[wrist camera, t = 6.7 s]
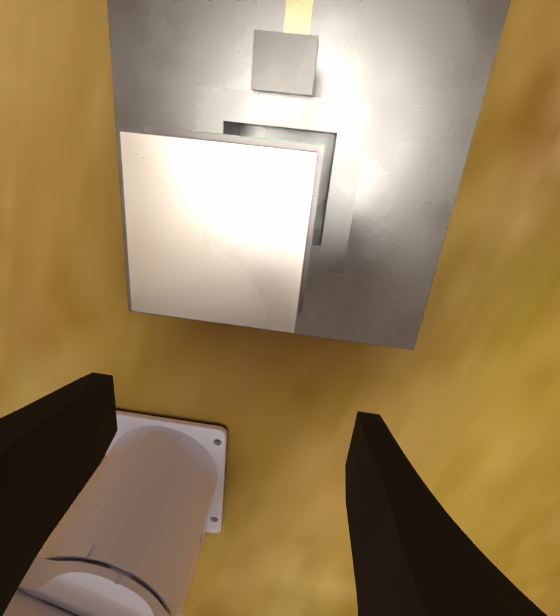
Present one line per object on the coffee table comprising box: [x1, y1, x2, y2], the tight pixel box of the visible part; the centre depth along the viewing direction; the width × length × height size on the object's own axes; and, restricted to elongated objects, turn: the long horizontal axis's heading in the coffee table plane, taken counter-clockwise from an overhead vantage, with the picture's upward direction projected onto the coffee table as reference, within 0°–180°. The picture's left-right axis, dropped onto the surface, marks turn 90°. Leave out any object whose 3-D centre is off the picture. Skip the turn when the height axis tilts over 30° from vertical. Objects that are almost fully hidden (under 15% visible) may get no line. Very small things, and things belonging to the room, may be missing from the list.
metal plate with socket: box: [107, 0, 510, 350], centre depth 16 cm, size 15×15×5 cm
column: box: [120, 126, 325, 333], centre depth 9 cm, size 3×3×6 cm
